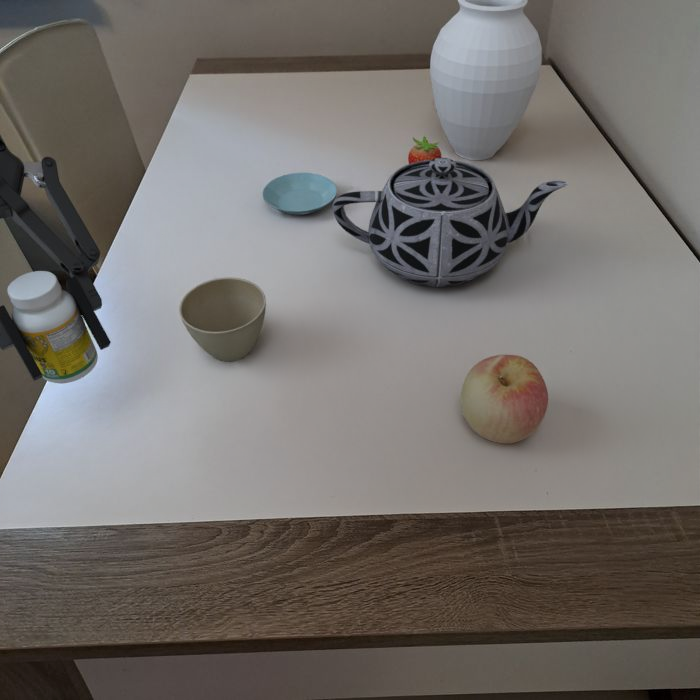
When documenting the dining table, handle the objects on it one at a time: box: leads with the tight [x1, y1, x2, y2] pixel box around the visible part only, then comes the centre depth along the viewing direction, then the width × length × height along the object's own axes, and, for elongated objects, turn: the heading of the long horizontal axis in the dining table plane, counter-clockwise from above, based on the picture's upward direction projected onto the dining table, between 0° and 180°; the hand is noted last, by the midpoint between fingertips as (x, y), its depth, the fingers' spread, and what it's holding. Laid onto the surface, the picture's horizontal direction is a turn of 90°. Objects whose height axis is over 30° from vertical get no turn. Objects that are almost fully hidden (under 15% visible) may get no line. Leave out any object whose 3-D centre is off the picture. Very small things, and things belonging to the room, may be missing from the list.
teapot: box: [332, 157, 569, 288], centre depth 87 cm, size 19×31×15 cm, turn 89°
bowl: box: [178, 276, 267, 362], centre depth 77 cm, size 10×10×7 cm
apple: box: [460, 354, 549, 444], centre depth 67 cm, size 9×9×8 cm
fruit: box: [407, 135, 442, 164], centre depth 105 cm, size 5×5×8 cm
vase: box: [429, 0, 543, 161], centre depth 107 cm, size 18×18×25 cm
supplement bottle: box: [6, 270, 99, 384], centre depth 58 cm, size 5×5×10 cm
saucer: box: [262, 172, 338, 215], centre depth 103 cm, size 12×12×2 cm
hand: (72, 361), depth 56 cm, fingers closed on supplement bottle, 5 cm apart
